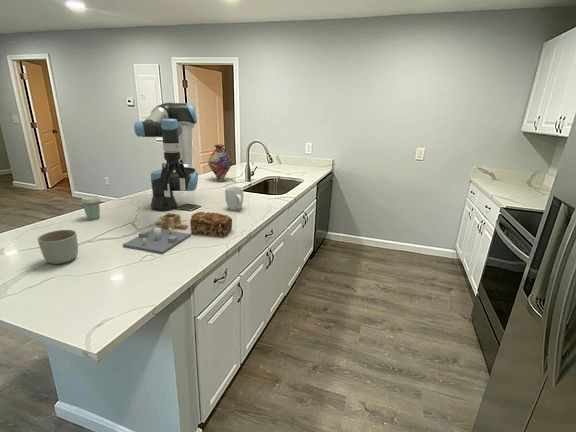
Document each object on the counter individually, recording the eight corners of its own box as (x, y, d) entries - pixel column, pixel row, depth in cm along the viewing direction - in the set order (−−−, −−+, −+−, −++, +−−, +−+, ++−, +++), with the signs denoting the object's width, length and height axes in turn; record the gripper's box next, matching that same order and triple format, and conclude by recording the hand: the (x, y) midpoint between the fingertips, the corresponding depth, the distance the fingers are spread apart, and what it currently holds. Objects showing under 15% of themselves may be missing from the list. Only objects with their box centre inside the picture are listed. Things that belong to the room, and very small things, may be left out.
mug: (249, 211, 193) (249, 191, 189) (232, 214, 187) (232, 193, 183) (239, 205, 205) (238, 185, 201) (223, 207, 199) (222, 187, 195)
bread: (190, 234, 158) (188, 215, 154) (199, 226, 168) (198, 208, 164) (225, 237, 155) (225, 218, 151) (233, 230, 165) (232, 211, 161)
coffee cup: (106, 217, 176) (102, 196, 172) (91, 222, 168) (87, 200, 164) (96, 215, 179) (92, 194, 175) (81, 219, 172) (76, 198, 168)
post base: (123, 246, 141) (121, 233, 139) (154, 230, 160) (153, 219, 158) (163, 254, 136) (161, 240, 134) (190, 236, 155) (189, 224, 153)
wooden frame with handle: (152, 226, 165) (151, 215, 163) (161, 222, 172) (160, 211, 170) (182, 231, 160) (181, 220, 158) (190, 226, 167) (189, 216, 165)
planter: (39, 269, 120) (33, 243, 117) (48, 256, 131) (42, 231, 127) (78, 264, 125) (72, 239, 121) (83, 251, 136) (78, 228, 132)
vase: (210, 178, 275) (209, 143, 265) (232, 178, 277) (231, 143, 267) (207, 183, 258) (205, 146, 248) (231, 183, 260) (230, 146, 250)
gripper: (162, 155, 143) (167, 200, 150) (192, 149, 166) (194, 188, 173) (148, 154, 145) (153, 198, 152) (179, 148, 168) (182, 187, 175)
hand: (175, 193), depth 162 cm, fingers open, 13 cm apart
